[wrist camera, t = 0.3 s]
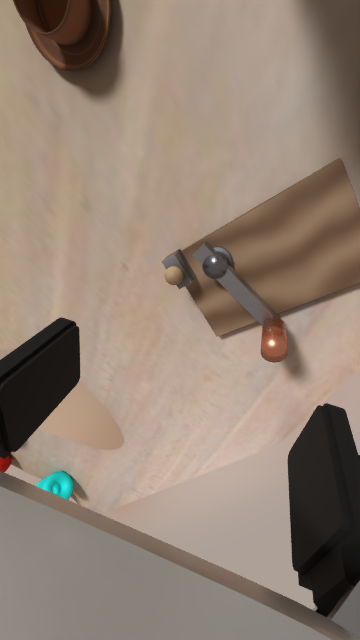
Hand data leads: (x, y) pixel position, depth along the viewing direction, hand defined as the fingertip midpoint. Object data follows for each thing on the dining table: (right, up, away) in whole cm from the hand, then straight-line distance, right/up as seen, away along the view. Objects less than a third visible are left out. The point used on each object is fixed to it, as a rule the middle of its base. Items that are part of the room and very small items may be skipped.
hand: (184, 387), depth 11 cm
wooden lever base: (+13, +11, +32) cm, 37 cm away
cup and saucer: (-13, +41, +25) cm, 50 cm away
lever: (+9, +7, +33) cm, 35 cm away
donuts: (-41, -52, +87) cm, 109 cm away
